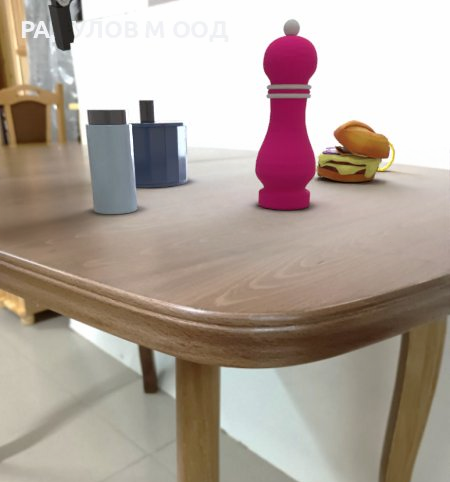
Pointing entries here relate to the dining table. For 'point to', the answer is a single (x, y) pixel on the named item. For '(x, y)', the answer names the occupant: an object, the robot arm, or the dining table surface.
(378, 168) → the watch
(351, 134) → the cheeseburger
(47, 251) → the dining table surface
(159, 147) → the pot
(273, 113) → the pepper mill
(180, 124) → the pot lid
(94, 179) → the shaker
